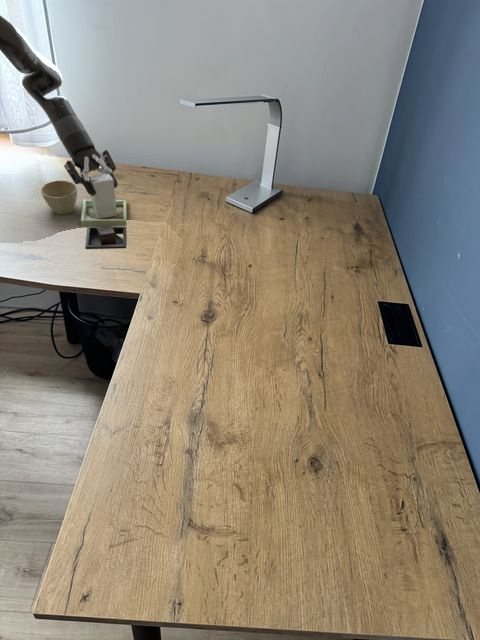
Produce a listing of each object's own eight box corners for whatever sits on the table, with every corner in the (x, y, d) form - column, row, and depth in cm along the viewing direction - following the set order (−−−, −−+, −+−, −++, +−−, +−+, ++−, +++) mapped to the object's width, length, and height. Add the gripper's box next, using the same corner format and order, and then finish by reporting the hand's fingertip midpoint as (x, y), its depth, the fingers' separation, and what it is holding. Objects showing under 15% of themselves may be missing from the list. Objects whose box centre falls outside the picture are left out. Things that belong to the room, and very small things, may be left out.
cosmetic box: (112, 209, 153) (109, 171, 145) (117, 216, 151) (114, 179, 142) (92, 212, 151) (87, 174, 142) (97, 220, 148) (93, 182, 140)
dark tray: (86, 255, 136) (85, 246, 134) (88, 234, 143) (87, 226, 142) (126, 254, 138) (126, 246, 136) (126, 234, 146) (126, 226, 144)
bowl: (41, 217, 148) (35, 195, 143) (52, 200, 155) (47, 178, 150) (75, 220, 148) (70, 198, 143) (85, 203, 155) (81, 181, 150)
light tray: (81, 228, 145) (80, 220, 144) (84, 207, 154) (83, 199, 152) (126, 228, 148) (126, 220, 146) (126, 207, 157) (126, 200, 155)
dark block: (101, 247, 138) (99, 234, 136) (98, 239, 141) (96, 227, 138) (116, 245, 140) (114, 232, 137) (112, 237, 142) (111, 225, 140)
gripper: (55, 135, 134) (88, 193, 137) (100, 124, 143) (130, 178, 146) (47, 148, 140) (79, 203, 143) (90, 137, 148) (119, 189, 152)
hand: (105, 190), depth 144 cm, fingers closed on cosmetic box, 7 cm apart
